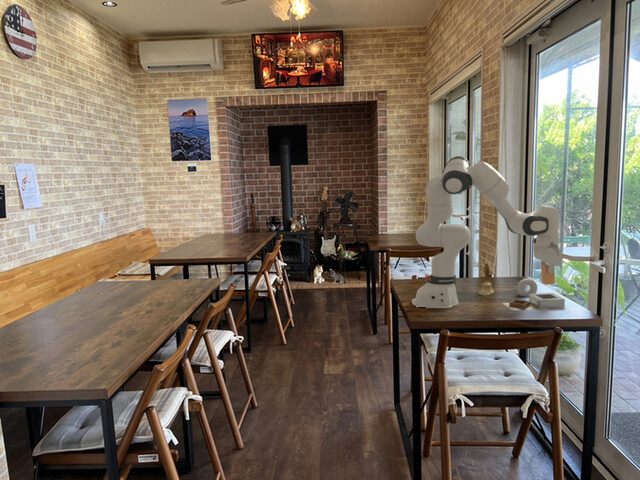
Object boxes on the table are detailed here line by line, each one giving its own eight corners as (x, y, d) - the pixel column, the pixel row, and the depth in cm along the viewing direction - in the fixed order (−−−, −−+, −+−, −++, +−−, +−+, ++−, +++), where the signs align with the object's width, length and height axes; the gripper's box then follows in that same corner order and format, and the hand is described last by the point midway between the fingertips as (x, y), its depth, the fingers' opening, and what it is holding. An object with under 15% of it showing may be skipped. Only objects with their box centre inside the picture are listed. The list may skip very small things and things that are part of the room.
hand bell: (479, 295, 238) (479, 265, 236) (477, 291, 246) (477, 262, 244) (496, 296, 236) (496, 265, 234) (494, 291, 244) (494, 262, 242)
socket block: (539, 308, 206) (539, 300, 206) (528, 302, 217) (529, 293, 217) (564, 307, 206) (564, 299, 205) (552, 301, 217) (552, 292, 216)
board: (511, 313, 206) (511, 310, 206) (501, 306, 218) (501, 303, 218) (566, 311, 206) (566, 308, 205) (553, 304, 218) (553, 300, 217)
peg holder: (524, 309, 207) (524, 304, 207) (509, 306, 212) (509, 302, 212) (530, 305, 212) (530, 301, 211) (515, 303, 216) (515, 299, 216)
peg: (554, 284, 207) (554, 265, 206) (545, 284, 207) (545, 265, 207) (550, 282, 211) (550, 264, 210) (541, 283, 211) (541, 264, 211)
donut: (535, 296, 232) (535, 276, 230) (538, 298, 228) (539, 278, 227) (515, 297, 231) (515, 278, 230) (518, 299, 228) (519, 279, 226)
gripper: (566, 244, 196) (565, 276, 198) (544, 238, 217) (544, 267, 219) (551, 245, 197) (550, 277, 199) (531, 238, 217) (530, 267, 219)
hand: (547, 271), depth 209 cm, fingers closed on peg, 4 cm apart
